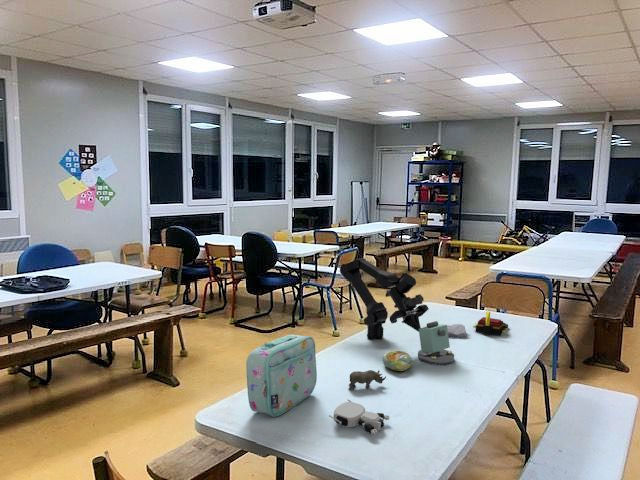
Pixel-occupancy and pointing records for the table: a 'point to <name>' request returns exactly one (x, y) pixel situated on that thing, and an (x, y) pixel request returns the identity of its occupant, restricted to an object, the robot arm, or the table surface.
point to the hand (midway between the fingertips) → (419, 331)
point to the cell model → (397, 360)
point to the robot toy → (358, 417)
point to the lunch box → (281, 374)
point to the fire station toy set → (490, 326)
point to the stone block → (456, 330)
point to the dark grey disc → (436, 357)
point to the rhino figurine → (365, 378)
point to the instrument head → (434, 337)
